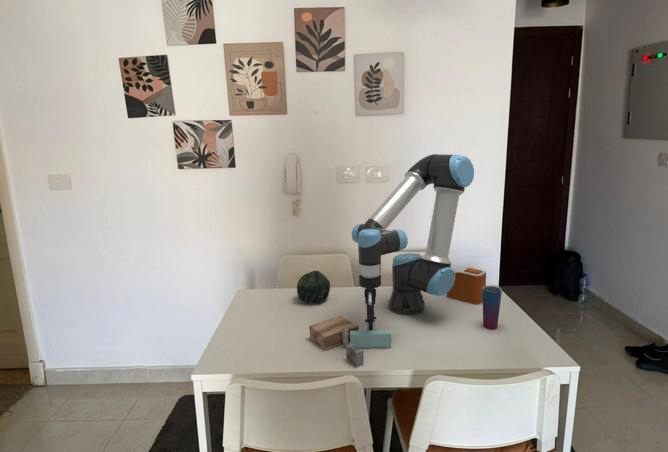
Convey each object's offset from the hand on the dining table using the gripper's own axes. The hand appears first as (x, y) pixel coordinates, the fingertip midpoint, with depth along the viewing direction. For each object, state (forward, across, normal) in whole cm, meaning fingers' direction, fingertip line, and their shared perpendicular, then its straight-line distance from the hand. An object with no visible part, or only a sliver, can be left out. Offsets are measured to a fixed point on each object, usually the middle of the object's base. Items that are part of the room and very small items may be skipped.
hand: (370, 337), depth 153 cm
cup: (+2, -14, +45) cm, 47 cm away
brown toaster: (+3, -42, +41) cm, 59 cm away
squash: (+2, -38, -26) cm, 46 cm away
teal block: (+1, +3, 0) cm, 4 cm away
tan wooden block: (+2, +4, -9) cm, 10 cm away
